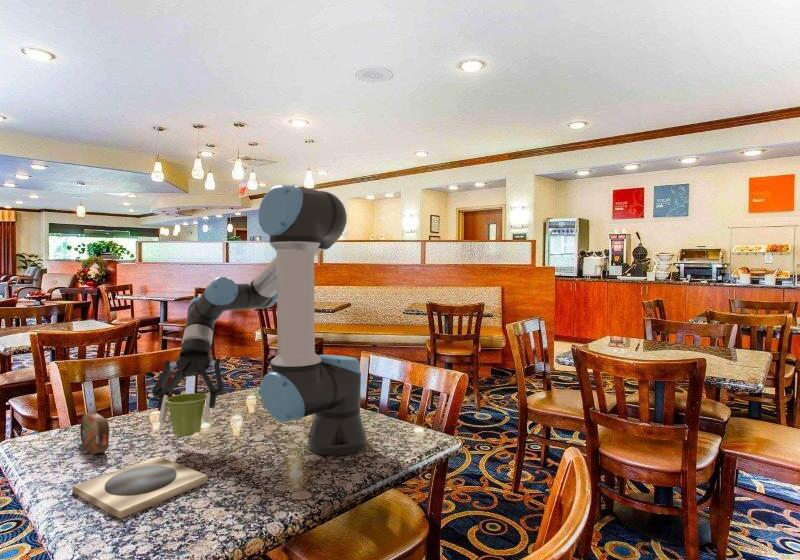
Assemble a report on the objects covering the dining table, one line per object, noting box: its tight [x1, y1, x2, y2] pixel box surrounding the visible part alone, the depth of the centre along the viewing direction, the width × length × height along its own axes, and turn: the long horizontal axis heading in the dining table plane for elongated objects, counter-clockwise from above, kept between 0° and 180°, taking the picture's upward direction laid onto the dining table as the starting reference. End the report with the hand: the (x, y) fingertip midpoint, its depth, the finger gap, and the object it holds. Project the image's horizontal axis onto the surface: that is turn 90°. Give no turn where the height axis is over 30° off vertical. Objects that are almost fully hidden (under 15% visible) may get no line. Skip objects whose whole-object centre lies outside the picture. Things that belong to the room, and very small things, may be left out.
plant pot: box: [166, 392, 207, 437], centre depth 118 cm, size 9×9×9 cm
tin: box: [79, 412, 110, 455], centre depth 119 cm, size 15×3×8 cm, turn 47°
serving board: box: [71, 455, 208, 519], centre depth 99 cm, size 18×18×2 cm
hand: (184, 420), depth 115 cm, fingers closed on plant pot, 9 cm apart
